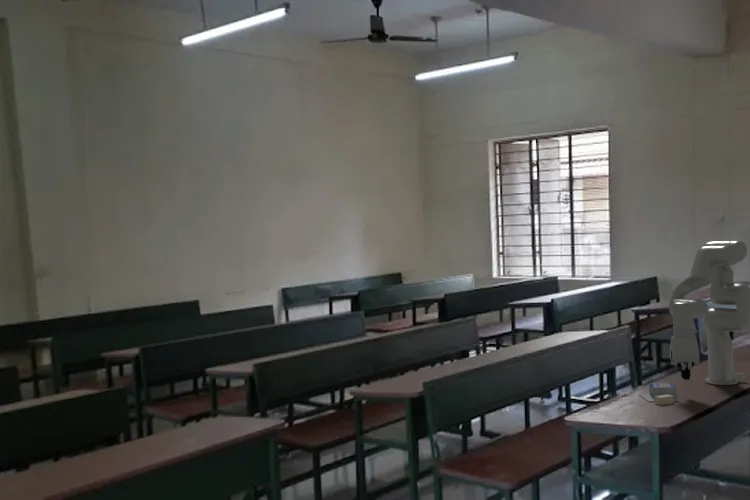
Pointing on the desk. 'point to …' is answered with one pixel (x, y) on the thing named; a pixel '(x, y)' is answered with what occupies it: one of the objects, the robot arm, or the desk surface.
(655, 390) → the medicine box
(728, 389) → the desk surface
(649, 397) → the mat
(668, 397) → the pale yellow faceted block
